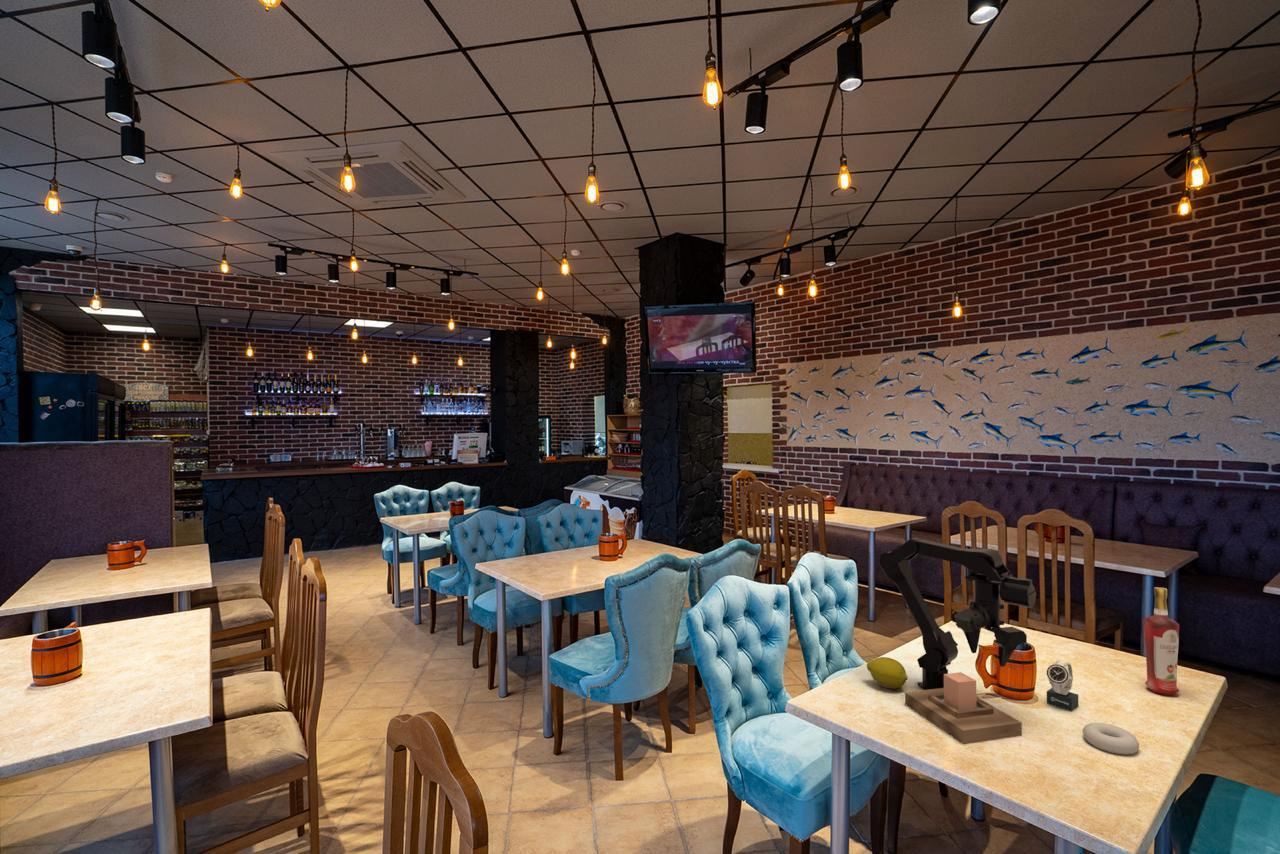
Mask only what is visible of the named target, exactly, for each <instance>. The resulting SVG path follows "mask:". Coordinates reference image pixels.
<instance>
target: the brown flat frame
mask: <svg viewBox="0 0 1280 854" xmlns="http://www.w3.org/2000/svg"><path fill="white" fill-rule="evenodd" d="M904 702H905V703H904V704H905V705H906V706H907V705H908V706H907V707H909V708H910V707H911V708H910V709H912V710H913V709H914V711H915V712H916V711H917V712H916V713H918V714H919V713H920V714H919V715H920V716H922V715H923V716H922V717H924V718H925V717H926V718H927V719H926V718H925V719H926V720H928V721H929V720H930V721H929V722H931V723H932V722H933V723H932V724H933V725H935V726H937V727H938V728H939V729H941V730H943V731H944V732H945V733H946V734H949V735H950V736H951V735H952V736H951V737H952V738H954V739H956V740H957V741H958V742H960V743H961V742H962V743H961V744H963V743H966V744H971V743H972V744H973V743H979V742H985V741H992V740H999V739H1006V738H1012V737H1020V736H1023V727H1022V726H1023V725H1022V724H1023V722H1021V721H1020V720H1019V719H1017V718H1014V717H1013V716H1011V715H1010V714H1008V713H1006V712H1004V711H1002V710H1000V709H999V708H997V707H995V706H993V705H991V704H990V703H989V702H986V701H984V700H983V699H981V698H979V697H978V696H976V705H977V709H971V710H963V711H958V710H956V709H954V708H953V707H951V706H949V705H948V704H946V703H945V702H944V688H938V689H929V690H926V689H922V690H913V691H905V692H904Z"/></svg>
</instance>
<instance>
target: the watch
mask: <svg viewBox="0 0 1280 854" xmlns="http://www.w3.org/2000/svg"><path fill="white" fill-rule="evenodd" d="M1046 676H1047V679H1048V682H1049V684H1050V686H1051V688H1050V689H1048V690H1047V691H1046V704H1049V705H1051V706H1054V707H1057V708H1060V709H1063V710H1066V711H1070V712H1073V711H1075V710H1076V709H1077V708H1079V694H1077V693H1074V692H1072V691H1071V690H1072V688H1073V680H1074V675H1073V666H1072V665H1071V663H1070V662H1066V661H1062V660H1056V661H1054V662H1053V663H1052V664H1051V665H1049V666H1048V667H1047V669H1046ZM1070 691H1071V692H1070Z"/></svg>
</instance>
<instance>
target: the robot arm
mask: <svg viewBox="0 0 1280 854" xmlns="http://www.w3.org/2000/svg"><path fill="white" fill-rule="evenodd" d="M918 555H921V556H926V557H930V558H935V559H938V560H942V561H947V562H951V563H955V564H958V565H961V566H962V567H964V568H965V569H966V570H967V569H968V570H970V573H969V574H967V575H965V577H964V579H966V580H970V581H973V584H974V585H973V589H974V590H973V592H974V593H973V594H974V597H973V600H971V601H970V602H969V607H968V608H965V609H962V610H961V609H960V610H954V611H953V613H952V614H951V622H953V623H955V626H956V627H957V628H958V629H961V630H962V631H963V632H962V633H964V636H965V638H966V640H967V644H968V647H969V649H970V652H971V653H972V654H976V653H977V650H978V647H979V641H980V635H981V630H982V629H984V630H986V631H989V632H991V633H993V635H994V638H995V639H996V640H995V639H994V640H993V642H994V643H995V644H996V645H997V648H998V661H999V666H1000V667H1001V668H1004V667H1006V665H1007V663H1008V662H1009V660H1010V658H1011V656H1012V655H1013V653H1014V651H1015V650H1016V649H1017V647H1018V646H1021V645H1023V644H1027V642H1028V641H1027V633H1026V632H1025V631H1024V630H1022V629H1020V628H1017V627H1014V626H1005V620H1003V619H1001V610H1005V605H1004V604H1003V603H1001V601H1003V602H1004V603H1005V604H1009V605H1013V606H1019V607H1023V608H1029V609H1033V608H1034V606H1035V604H1036V601H1037V592H1036V590H1035V586H1034V585H1033V580H1032V579H1029V578H1020V577H1013V574H1012V572H1010V570H1009V568H1007V566H1006V565H1005V564H1004V562H1003V558H1002V556H1001V555H1000V553H999V551H997V550H994V549H992V548H966V547H965V548H963V547H959V546H954V545H949V544H945V543H940V542H936V541H931V540H928V539H923V538H921V537H914V538H910V539H907V540H906V542H904V543H903V544H902V545H899V546H898V547H897V548H894V549H893V550H891V551H888V552H883V553H882V554H881V555H880V557H879V560H878V565H879V567H880V568H881V570H882V571H883V573H884V575H885V576H886V577H887V578H889V580H891V581H892V582H893V583H894V584H895V585H896V586H897V588H898V591H899V592H900V594H901V596H902V598H903V600H904V601H905V604H906V605H907V607H908V610H909V611H910V613H911V615H912V618H913V619H914V621H915V622H916V624H917V626H918V628H919V630H920V632H921V636H922V637H921V638H922V647H923V649H924V652H925V654H923V655H921V656H920V657H919V658H917V664H918V667H919V668H920V669H921V671H922V672H921V673H922V674H921V675H922V681H919V682H917V685H918V687H921V688H922V689H923V690H929V689H938V688H944V674H949V669H948V668H947V667H948V666H949V665H951V663H952V662H953V660H955V659H956V658H957V657H958V654H959V649H958V647H957V646H959V644H958V643H957V642H956V641H955V639H954V637H953V634H952V632H951V631H950V630H948V631H946V632H945V631H944V630H943V629H942V628H940V626H939V624H938V623H937V621H936V619H935V617H934V615H933V614H932V612H931V610H930V607H929V605H928V604H927V602H926V601H925V599H924V597H923V595H922V593H921V591H920V589H919V587H918V585H917V584H916V582H915V580H914V577H913V570H912V569H913V568H912V565H911V563H910V561H911V560H913V559H914V558H915V557H917V556H918ZM1001 626H1004V627H1001Z"/></svg>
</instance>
